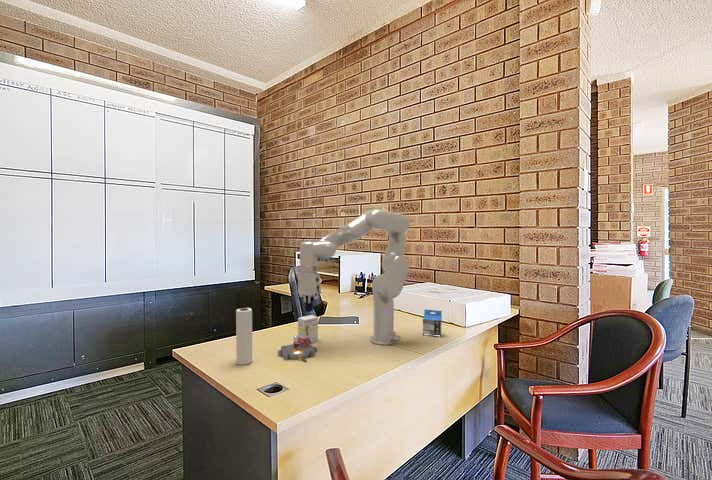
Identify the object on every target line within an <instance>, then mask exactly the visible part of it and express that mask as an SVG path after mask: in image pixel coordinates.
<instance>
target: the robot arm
mask: <svg viewBox="0 0 712 480" xmlns="http://www.w3.org/2000/svg"><path fill="white" fill-rule="evenodd" d="M410 226H411V221H410V219H409V217H408V216H406V215H404V214H401V213H397V212H393V211H387V210H384V209H380V208H379V209H378V208H376V209H369V210H367V211H365V212H364V213H362V214H360V215H359V216H357V217H356V218H355V219H353V220H351V221H350V222H348V223H347V224H345V225H342V226H340V228H338V229H336V230H335V231H332V232H331V233H329V234H328V235H326V236H324V237H323V238H321V239H320V240H318V241H317V242H315V241H302V242H300V245H299V273H298V279H297V280H298V281H297V293H298V296H299V297H300V298H302V300H303V302H304V307H305V308H304V309H305V310H304V311H305V312H306V313H310V312H313V311H314V307H313V305H314V302H315V300H319V299H320V296H321V293H322V285H321V284H322V283H321V277H320V273H319V267H318V258H319V259H320V258H321V259H322V258H323V259H330V258H332V257H334V256H335V254H336V253H337V252H336V251H337V248H339V247H341V246H344V245H346V244H350V243H353V242H356V241H358V240H359V239H361V238H362V237H363V236H365V235H367V234H368V233H369V232H371V231H373V230H374V229H380V230H385V232H386V233H387V235H388V241H387V242H388V243H387V247H386V249H385V253H384V255H383V258H382V260H381V268H382V270H384V271H385V272H386V273H385V274H384V273H382V274H378V275H376V276H375V277H374V279H372V283H371V290H372V295H373V335H372V336H371V337H370V339H369V340H370V342H371V343H373V344H375V345H381V346H387V345H394V344H396V343H397V342H401V335H397V333H396V331H394V329H395V328H394V327H395V326H394V325H395V323H394V319H395V318H394V315H395V313H394V312H395V311H394V310H395V303H394V302H395V301H394V299H395V298H397V297H398V296H399V295H400V294H401V292H402V291H403V288H404V286H405V282H406V280H407V278H408V277H407V276H408V274H409V271H410V261H409V259H408V258H407V256H405V251H406V247H407V235H406V233H407V232H408V230H409V229H410Z"/></svg>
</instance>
